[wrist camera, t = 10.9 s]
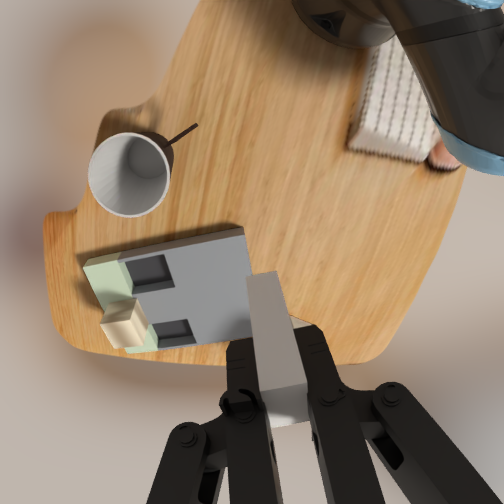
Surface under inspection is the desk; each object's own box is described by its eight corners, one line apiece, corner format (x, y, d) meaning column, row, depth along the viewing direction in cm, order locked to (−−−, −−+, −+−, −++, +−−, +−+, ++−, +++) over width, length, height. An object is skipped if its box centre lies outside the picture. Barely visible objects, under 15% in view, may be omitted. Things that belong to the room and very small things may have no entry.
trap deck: (243, 226, 41) (244, 234, 39) (262, 324, 50) (263, 334, 48) (88, 258, 41) (82, 267, 39) (130, 343, 50) (127, 353, 48)
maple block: (137, 298, 42) (129, 320, 38) (148, 323, 45) (143, 345, 40) (108, 302, 42) (99, 324, 38) (121, 326, 45) (114, 348, 40)
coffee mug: (125, 194, 37) (99, 223, 29) (112, 132, 33) (79, 144, 25) (210, 179, 38) (207, 205, 29) (201, 113, 34) (194, 117, 25)
